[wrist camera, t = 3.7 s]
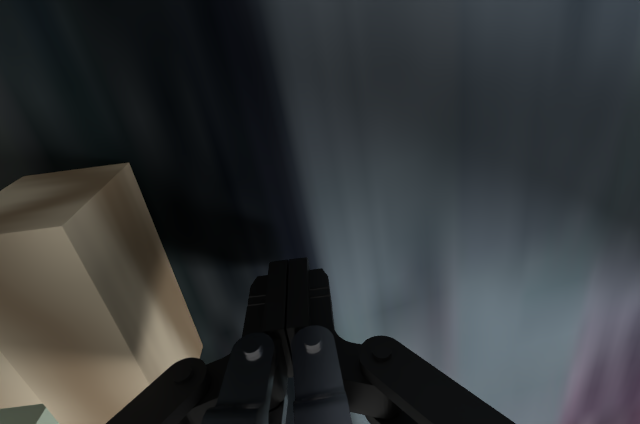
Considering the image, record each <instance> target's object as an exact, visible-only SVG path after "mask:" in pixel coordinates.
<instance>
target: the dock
mask: <svg viewBox="0 0 640 424" xmlns="http://www.w3.org/2000/svg"><path fill="white" fill-rule="evenodd" d="M0 424H59V423H58V421H57V420H56V419H55V418H54V417H53V415H52V414H51V413H50V412H49V410H48V409H47V408H46V407H45V406H44V404H36V405H28V406H20V407H12V408H4V409H0Z"/></svg>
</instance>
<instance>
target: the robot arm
mask: <svg viewBox="0 0 640 424" xmlns="http://www.w3.org/2000/svg"><path fill="white" fill-rule="evenodd" d="M287 377H294V392H295V401H294V402H293V413H294V424H352V420H351V415H350V412H354V413H358V414H362V415H365V416H366V418H367V420H368V421H369V422H370V423H371V424H515V423H514V422H512V421H511V420H510V419H508V418H507V417H505V416H504V415H502V414H501V413H500V412H498V411H497V410H495V409H494V408H492V407H491V406H490V405H488V404H487V403H485V402H484V401H482V400H481V399H480V398H478V397H477V396H475V395H474V394H472V393H471V392H470V391H468V390H467V389H465V388H464V387H462V386H461V385H459V384H458V383H457V382H455V381H454V380H452V379H451V378H449V377H448V376H447V375H445V374H444V373H442V372H441V371H439V370H438V369H437V368H435V367H434V366H432V365H431V364H429V363H428V362H427V361H425V360H424V359H422V358H421V357H419V356H418V355H417V354H415V353H414V352H412V351H411V350H409V349H408V348H407V347H405V346H404V345H402V344H401V343H399V342H398V341H396V340H395V339H393V338H391V337H387V336H374V337H371V338H369V339H367V340H366V341H365V342H364V343H363V344H356V343H351V342H348V341H345V340H344V339H342V338H341V337H339V336H338V335H337V333H336V332H335V329H334V320H333V311H332V302H331V295H330V287H329V280H328V276H327V274H326V273H325V272H324V271H323V269H314V270H310V268H309V262H308V258H307V257H306V258H298V259H290V260H289V261H288V260H282V261H274V262H270V263H269V270H268V275H265V276H258V277H257V278H256V279H255V281H254V282H253V284H252V285H251V288H250V294H249V299H248V307H247V311H246V317H245V323H244V328H243V334H242V338H240V339H239V340H238V341H237V342H236V343H235V344H234V346H233V348H232V351H231V353H230V354H229V355H227V356H226V357H224V358H222V359H219V360H217V361H214V362H212V363H209V364H207V365H205V363H204V362H203V361H202V360H201V359H199V358H194V357H191V358H185V359H182V360H180V361H178V362H176V363H174V364H173V365H172V366H170V367H169V368H168V369H167V370H166V371H165V372H163V373H162V374H161V375H160V376H159V377H158V378H157V379H156V380H154V381H153V382H152V383H151V384H150V385H149V386H148V387H146V388H145V389H144V390H143V391H142V392H141V393H140V394H139V395H137V396H136V397H135V398H134V399H133V400H132V401H131V402H129V403H128V404H127V405H126V406H125V407H124V408H123V409H122V410H120V411H119V412H118V413H117V414H116V415H115V416H114V417H112V418H111V419H110V420H109V421H108V422H107V423H106V424H285V420H286V411H287V402H288V397H287Z"/></svg>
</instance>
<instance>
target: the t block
mask: <svg viewBox="0 0 640 424" xmlns="http://www.w3.org/2000/svg"><path fill="white" fill-rule="evenodd" d="M202 347H203V345H202V343H201V340H200V338H199V335H198V333H197V330H196V328H195V325H194V323H193V320H192V318H191V315H190V313H189V310H188V308H187V305H186V303H185V300H184V298H183V295H182V293H181V290H180V288H179V285H178V283H177V280H176V278H175V275H174V273H173V271H172V268H171V266H170V263H169V261H168V258H167V256H166V253H165V251H164V248H163V246H162V243H161V241H160V238H159V236H158V233H157V231H156V228H155V226H154V223H153V221H152V218H151V216H150V213H149V211H148V208H147V206H146V203H145V201H144V198H143V196H142V193H141V191H140V188H139V186H138V183H137V181H136V178H135V176H134V174H133V171H132V169H131V166H130V164H129V163H122V164H114V165H106V166H99V167H91V168H83V169H75V170H67V171H59V172H52V173H44V174H36V175H29V176H23V177H21V178H20V179H18V180H17V181H15V182H13V183H12V184H10V185H9V186H7V187H5V188H4V189H2V190H1V191H0V409H4V408H12V407H20V406H28V405H36V404H44V406H45V407H46V408H47V409H48V410H49V412H50V413H51V414H52V415H53V417H54V418H55V419H56V420H57V421H58V423H59V424H106V423H107V422H108V421H109V420H110V419H111V418H112V417H114V416H115V415H116V414H117V413H118V412H119V411H120V410H122V409H123V408H124V407H125V406H126V405H127V404H128V403H129V402H131V401H132V400H133V399H134V398H135V397H136V396H137V395H139V394H140V393H141V392H142V391H143V390H144V389H145V388H146V387H148V386H149V385H150V384H151V383H152V382H153V381H154V380H156V379H157V378H158V377H159V376H160V375H161V374H162V373H163V372H165V371H166V370H167V369H168V368H169V367H170V366H172V365H173V364H174V363H176V362H178V361H180V360H182V359H185V358H191V357H194V358H200V355H201V351H202Z"/></svg>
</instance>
